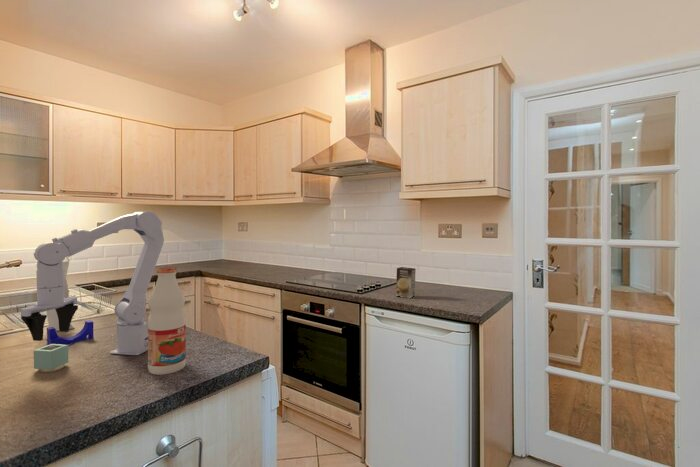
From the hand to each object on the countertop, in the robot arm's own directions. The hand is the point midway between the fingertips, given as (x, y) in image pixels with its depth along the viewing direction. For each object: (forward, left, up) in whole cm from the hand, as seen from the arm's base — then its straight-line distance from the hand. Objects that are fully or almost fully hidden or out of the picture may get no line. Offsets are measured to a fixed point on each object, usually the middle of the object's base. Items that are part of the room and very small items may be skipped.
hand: (51, 335), depth 100 cm
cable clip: (+14, -20, -10) cm, 26 cm away
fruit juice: (-31, -5, -9) cm, 33 cm away
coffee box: (-99, -116, -9) cm, 152 cm away
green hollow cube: (0, 0, -8) cm, 8 cm away
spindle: (0, 0, -9) cm, 9 cm away
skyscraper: (+30, -31, -9) cm, 44 cm away
